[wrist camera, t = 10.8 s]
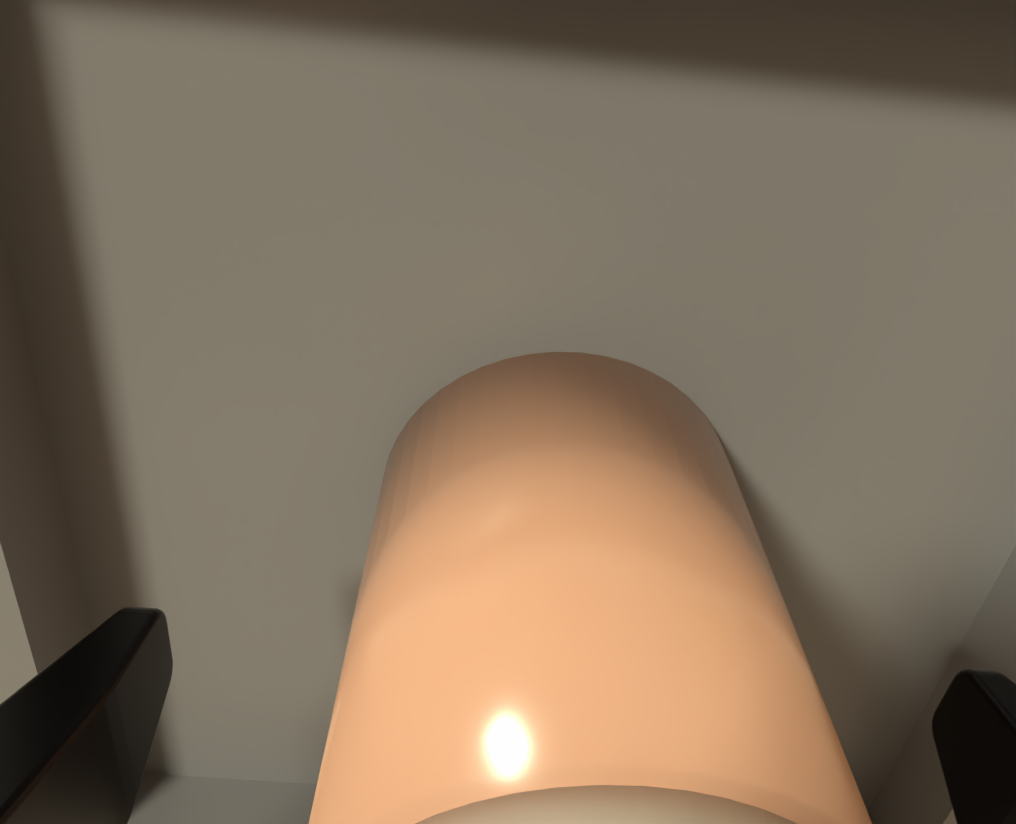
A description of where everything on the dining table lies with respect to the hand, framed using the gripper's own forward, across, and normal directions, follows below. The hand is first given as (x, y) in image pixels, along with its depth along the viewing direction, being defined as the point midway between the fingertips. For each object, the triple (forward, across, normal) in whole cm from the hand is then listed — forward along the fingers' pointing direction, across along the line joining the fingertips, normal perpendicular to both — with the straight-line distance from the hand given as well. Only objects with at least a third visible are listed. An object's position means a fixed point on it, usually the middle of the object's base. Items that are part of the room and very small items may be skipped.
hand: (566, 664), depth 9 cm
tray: (+4, 0, 0) cm, 4 cm away
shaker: (+3, 0, 0) cm, 3 cm away
